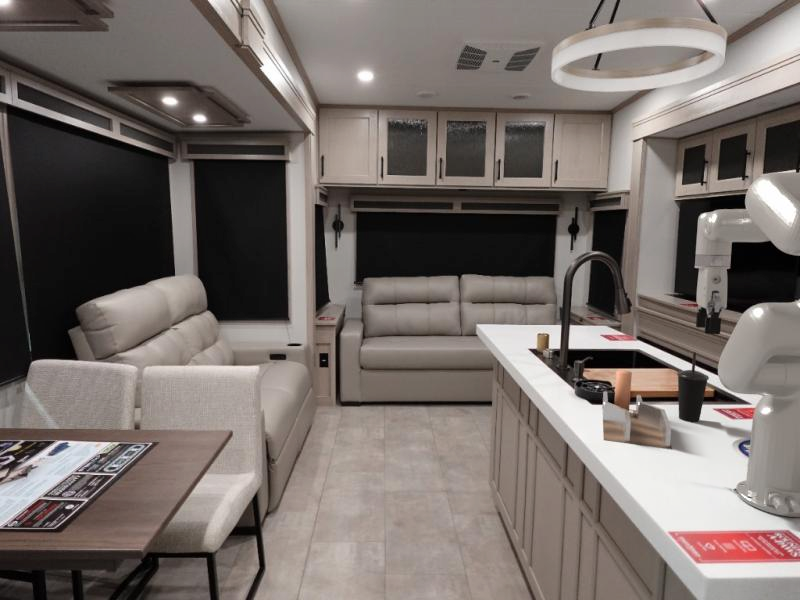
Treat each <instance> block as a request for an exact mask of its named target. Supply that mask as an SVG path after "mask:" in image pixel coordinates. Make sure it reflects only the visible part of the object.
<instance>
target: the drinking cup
mask: <svg viewBox="0 0 800 600" xmlns="http://www.w3.org/2000/svg"><path fill="white" fill-rule="evenodd" d="M696 358H697V352H693V353H692V362H691V363H692V364H691V365H692V366H691V369H685V370H681V371H678V372H677V373H676V375H677V384H678V387H677V389H678V390H677V391H678V394H677V395H678V396H677V397H678V418H679V420H680V421H683V422H688V423H699V421H700V419H701V414H702V409H703V403H704V399H705V393H706V388H707V383H708V380H709V379H710V377H709V375H707V374H705V373H703V372H701V371H698V370H696Z"/></svg>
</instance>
